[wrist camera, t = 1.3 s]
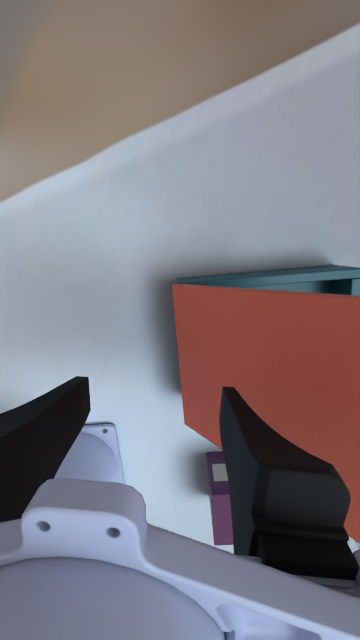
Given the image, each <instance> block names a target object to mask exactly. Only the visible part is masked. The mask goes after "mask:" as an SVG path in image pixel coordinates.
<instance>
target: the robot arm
mask: <svg viewBox="0 0 360 640" xmlns="http://www.w3.org/2000/svg"><path fill="white" fill-rule="evenodd" d="M90 410H91V409H90V394H89V379H88V377H80V376H77V377H75V378H73V379H71V380H69V381H67V382H65V383H63V384H62V385H60V386H58V387H56V388H55V389H53V390H51V391H49V392H47V393H46V394H44V395H42V396H40V397H38V398H36V399H34V400H32V401H30V402H28V403H26V404H23V405H21V406H19V407H17V408H14V409H12V410H9V411H7V412H4V413H1V414H0V640H360V550H357V551H355V552H354V553H353V554H352V552H351V550H350V548H349V545H348V543H347V541H348V540H349V536H348V534H347V532H346V530H345V528H344V523H345V519H346V516H347V513H348V510H349V507H350V501H351V497H350V492H349V490H348V488H347V486H346V485H345V483H344V481H343V479H342V478H341V476H340V475H339V473H338V472H337V470H336V469H335V467H334V466H333V464H331V463H328V462H326V461H324V460H322V459H320V458H318V457H316V456H314V455H312V454H310V453H308V452H306V451H305V450H303V449H301V448H299V447H298V446H296V445H294V444H293V443H291V442H290V441H288V440H287V439H286V438H284V437H283V436H281V435H280V434H279V433H277V432H276V431H275V430H274V429H272V428H271V427H270V426H269V425H268V424H266V423H265V422H264V421H263V420H262V419H261V418H260V417H259V416H258V415H257V414H256V413H255V412H254V411H253V410H252V408H251V407H250V406H249V405H248V404H247V403H246V401H245V400H244V399H243V398H242V396H241V395H240V394H239V393H238V391H237V390H236V389H235V388H234V387H225V386H222V396H221V405H220V415H219V427H220V438H221V444H222V449H223V455H224V460H225V465H226V470H227V476H228V483H229V492H230V504H231V516H232V530H233V544H234V554H233V553H230V552H227V551H224V550H221V549H219V548H216V547H213V546H210V545H207V544H205V543H202V542H199V541H196V540H193V539H191V538H188V537H185V536H182V535H179V534H176V533H174V532H171V531H168V530H165V529H162V528H160V527H157V526H154V525H151V524H148V523H147V521H146V505H145V502H144V499H143V496H142V495H141V494H140V493H139V492H138V491H137V490H136V489H134V488H133V487H132V486H129V485H126V484H125V481H124V475H123V469H122V463H121V457H120V451H119V445H118V439H117V433H116V428H115V426H114V425H112V424H104V425H88V426H84V424H85V422H86V420H87V417H88V415H89V412H90ZM104 429H107V431H105V430H104Z"/></svg>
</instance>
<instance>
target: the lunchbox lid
mask: <svg viewBox="0 0 360 640" xmlns="http://www.w3.org/2000/svg"><path fill="white" fill-rule="evenodd" d="M172 291H173V302H174V313H175V324H176V335H177V346H178V357H179V367H180V378H181V389H182V400H183V411H184V422H185V425H187V426H188V427H190V428H191V429H193V430H194V431H196V432H197V433H199V434H200V435H202V436H203V437H204V438H206V439H207V440H209V441H210V442H212V443H213V444H215V445H216V446H218V447H219V448H221V449H222V444H221V438H220V427H219V415H220V405H221V396H222V386H225V387H234V388H235V389H236V390H237V391H238V393H239V394H240V395H241V396H242V398H243V399H244V400H245V401H246V403H247V404H248V405H249V406H250V407H251V408H252V410H253V411H254V412H255V413H256V414H257V415H258V416H259V417H260V418H261V419H262V420H263V421H264V422H265V423H266V424H268V425H269V426H270V427H271V428H272V429H274V430H275V431H276V432H277V433H279V434H280V435H281V436H283V437H284V438H286V439H287V440H288V441H290V442H291V443H293V444H294V445H296V446H298V447H299V448H301V449H303V450H305V451H306V452H308V453H310V454H312V455H314V456H316V457H318V458H320V459H322V460H324V461H326V462H328V463H331V464H333V466H334V467H335V469H336V470H337V472H338V473H339V475H340V476H341V478H342V479H343V481H344V483H345V485H346V486H347V488H348V490H349V492H350V497H351V501H350V507H349V510H348V513H347V516H346V519H345V523H344V528H345V530H346V532H347V534H348V536H350V537H351V538H352V539H354V540H355V541H357V542H358V543H360V296H357V295H342V294H327V293H311V292H296V291H281V290H266V289H251V288H236V287H221V286H205V285H190V284H173V285H172ZM222 450H223V449H222Z"/></svg>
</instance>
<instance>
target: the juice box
mask: <svg viewBox="0 0 360 640" xmlns="http://www.w3.org/2000/svg"><path fill="white" fill-rule="evenodd" d="M207 466H208V480H209V494H210V505H211V515H212V526H213V536H214V545H234V544H233V530H232V516H231V504H230V492H229V483H228V476H227V470H226V465H225V460H224V455H223V452H216V453H207Z"/></svg>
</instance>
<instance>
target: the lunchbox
mask: <svg viewBox="0 0 360 640" xmlns="http://www.w3.org/2000/svg"><path fill="white" fill-rule="evenodd" d="M175 284H190V285H205V286H221V287H236V288H251V289H266V290H281V291H296V292H311V293H327V294H342V295H357V296H360V268H356V267H347V266H338V265H331V266H319V267H307V268H295V269H283V270H271V271H259V272H247V273H235V274H223V275H211V276H199V277H187V278H177V279H176V283H175Z"/></svg>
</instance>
